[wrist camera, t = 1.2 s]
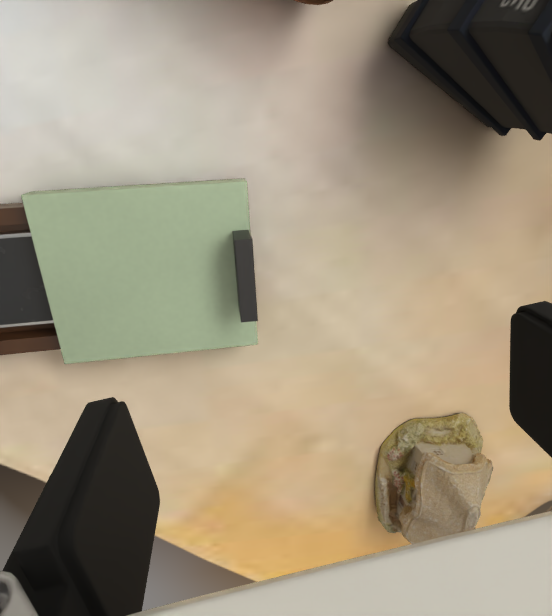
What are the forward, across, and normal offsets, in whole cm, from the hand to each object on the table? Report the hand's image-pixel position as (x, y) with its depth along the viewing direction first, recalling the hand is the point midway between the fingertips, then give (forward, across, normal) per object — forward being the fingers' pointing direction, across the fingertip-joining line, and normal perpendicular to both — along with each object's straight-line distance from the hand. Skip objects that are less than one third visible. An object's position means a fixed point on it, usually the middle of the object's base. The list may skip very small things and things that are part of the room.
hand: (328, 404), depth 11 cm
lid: (+25, +8, +2) cm, 27 cm away
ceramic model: (+28, -12, +30) cm, 43 cm away
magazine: (+27, -18, -7) cm, 33 cm away
